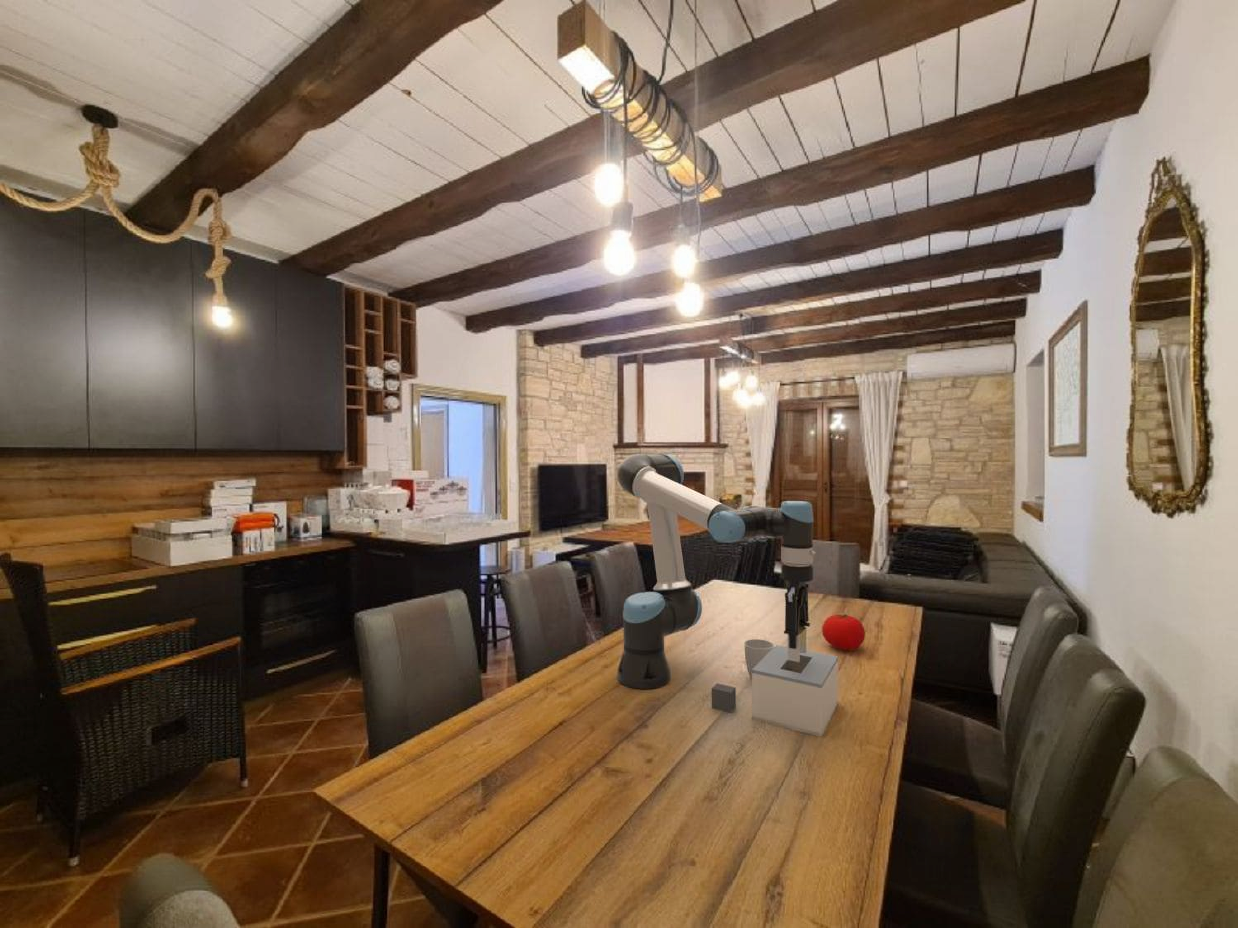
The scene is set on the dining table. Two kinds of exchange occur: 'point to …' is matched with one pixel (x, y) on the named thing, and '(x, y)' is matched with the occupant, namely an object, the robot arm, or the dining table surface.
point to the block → (724, 697)
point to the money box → (795, 690)
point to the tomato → (843, 632)
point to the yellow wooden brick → (802, 634)
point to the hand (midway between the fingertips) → (797, 656)
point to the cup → (756, 652)
